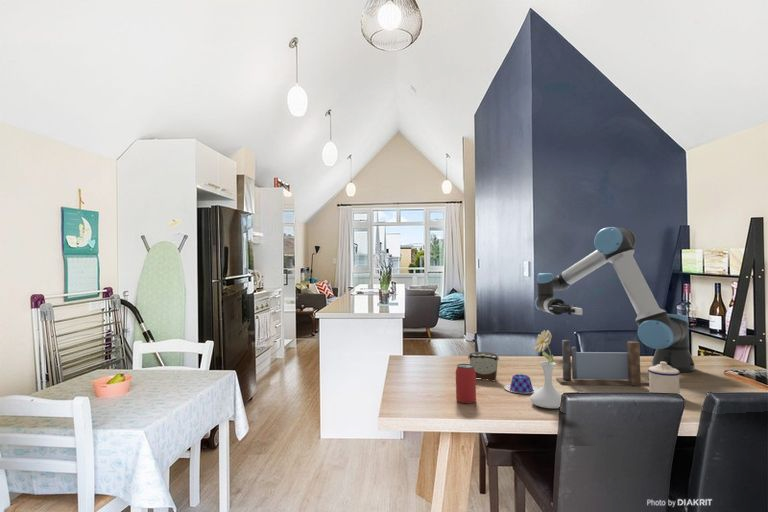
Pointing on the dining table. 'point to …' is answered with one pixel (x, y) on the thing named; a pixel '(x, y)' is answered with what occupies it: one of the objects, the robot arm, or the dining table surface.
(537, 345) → the flower in vase
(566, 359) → the gate frame
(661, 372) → the teacup with lid
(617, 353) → the gate leaf
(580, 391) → the dining table surface
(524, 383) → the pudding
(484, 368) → the food container
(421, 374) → the dining table surface
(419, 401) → the dining table surface
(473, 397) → the beer can
